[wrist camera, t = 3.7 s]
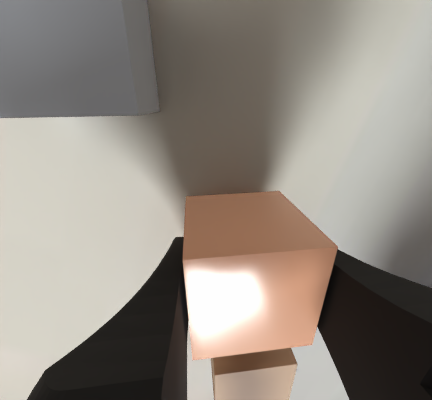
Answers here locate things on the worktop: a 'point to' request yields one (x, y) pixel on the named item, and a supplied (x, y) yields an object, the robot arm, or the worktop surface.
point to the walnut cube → (254, 375)
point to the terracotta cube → (252, 273)
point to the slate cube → (76, 59)
